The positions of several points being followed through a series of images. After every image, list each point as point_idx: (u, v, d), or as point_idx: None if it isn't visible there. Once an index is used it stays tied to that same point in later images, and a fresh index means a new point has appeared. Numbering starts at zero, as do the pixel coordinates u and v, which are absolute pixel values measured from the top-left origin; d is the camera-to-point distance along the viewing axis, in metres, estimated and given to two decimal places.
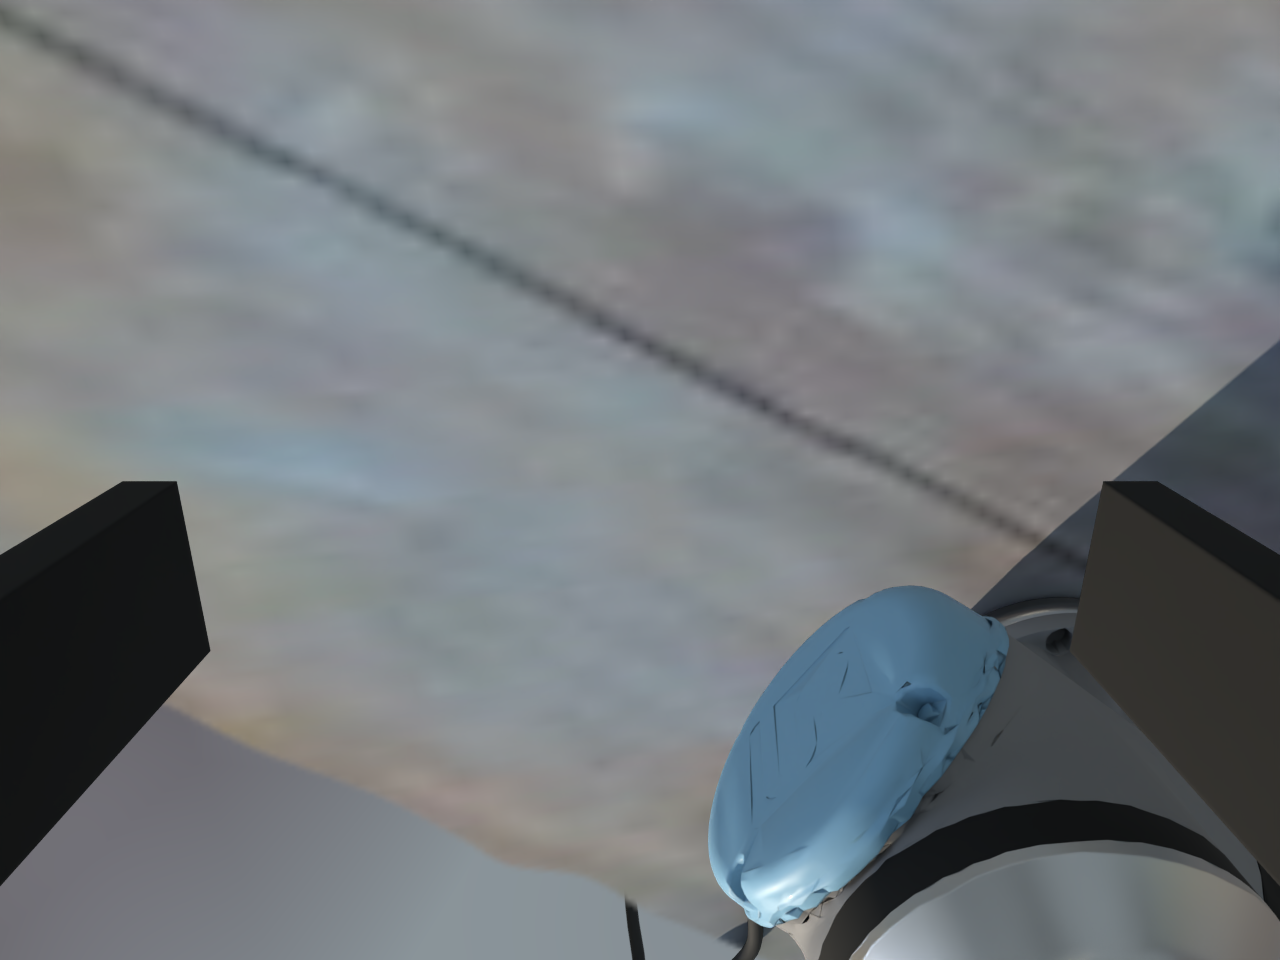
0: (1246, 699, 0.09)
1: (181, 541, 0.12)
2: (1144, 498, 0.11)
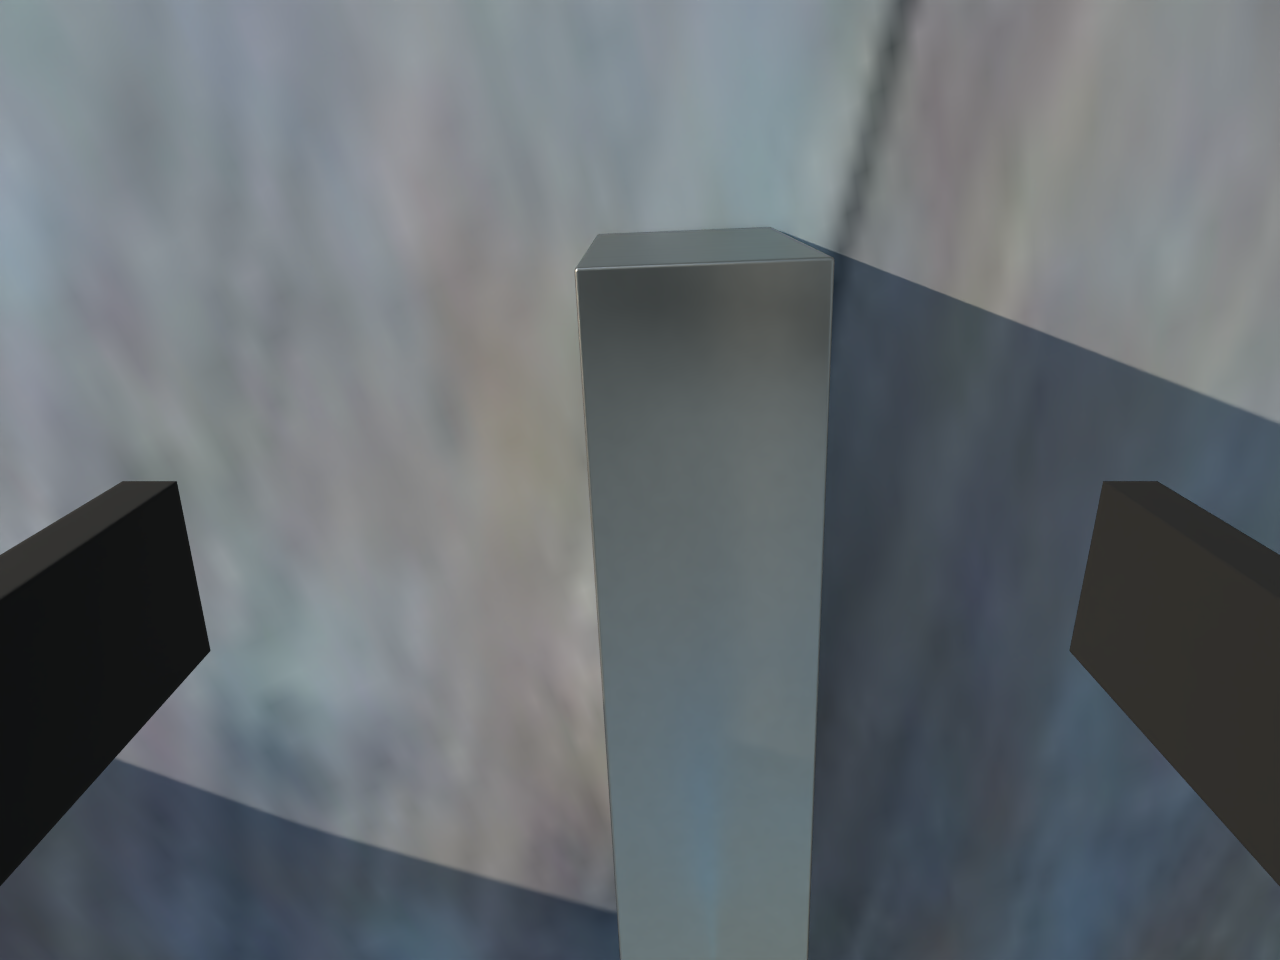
0: (1246, 699, 0.09)
1: (181, 541, 0.12)
2: (1144, 498, 0.11)
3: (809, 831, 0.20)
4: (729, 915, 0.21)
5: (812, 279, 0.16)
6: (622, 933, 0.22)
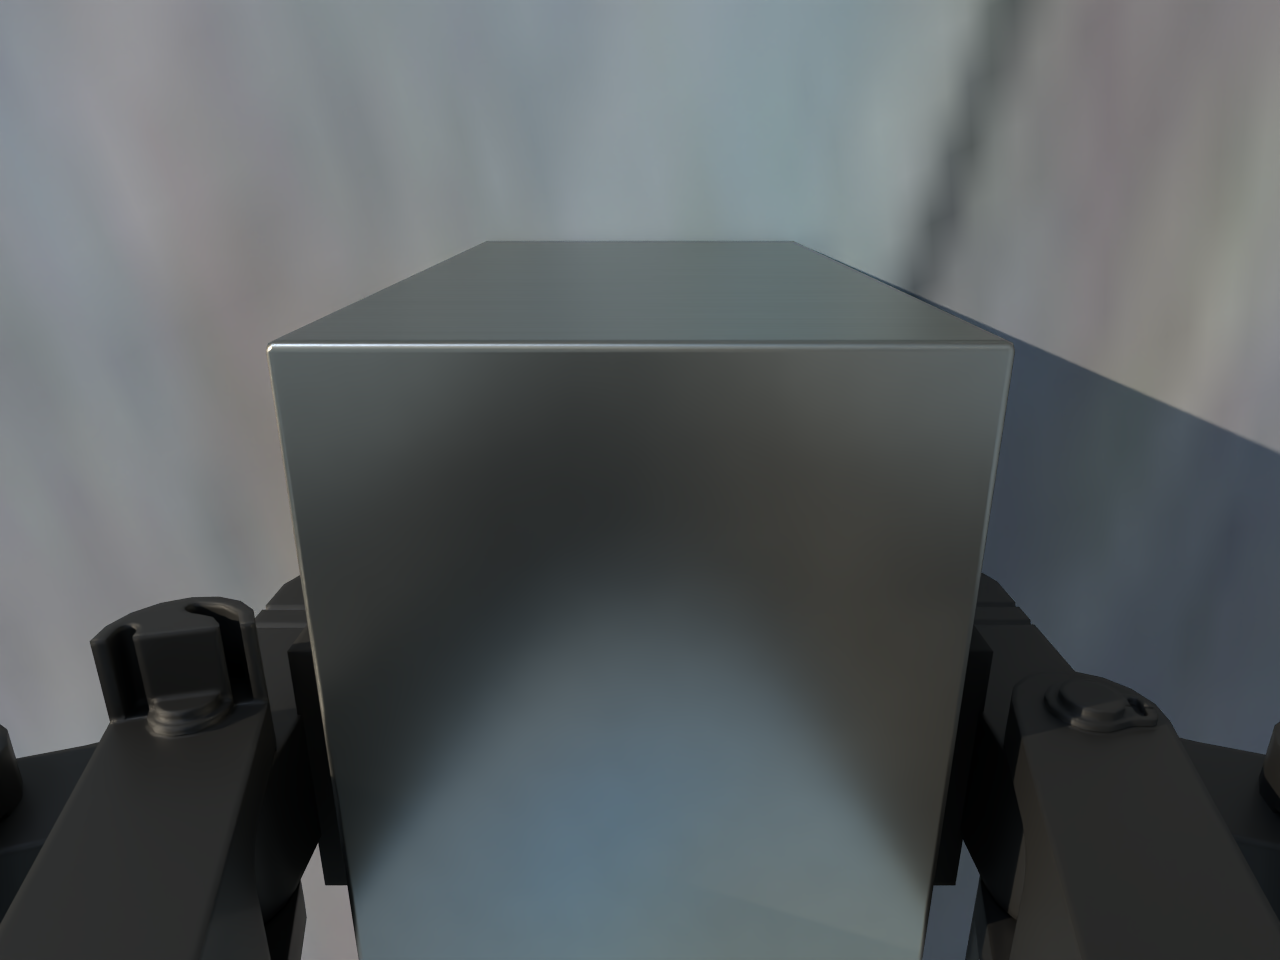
0: None
1: None
2: None
3: None
4: None
5: (948, 403, 0.06)
6: None
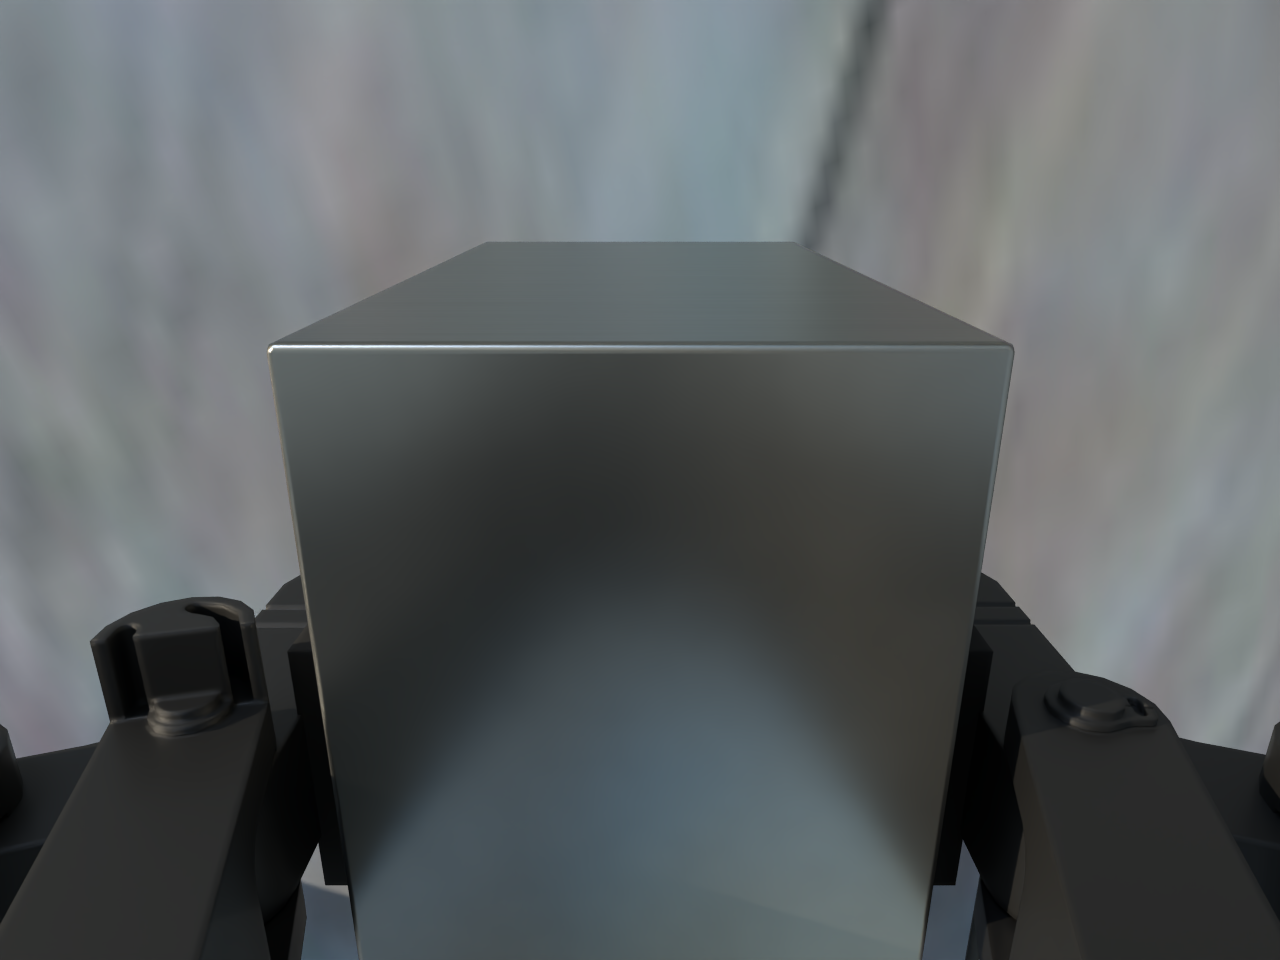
0: None
1: None
2: None
3: None
4: None
5: (948, 403, 0.06)
6: None
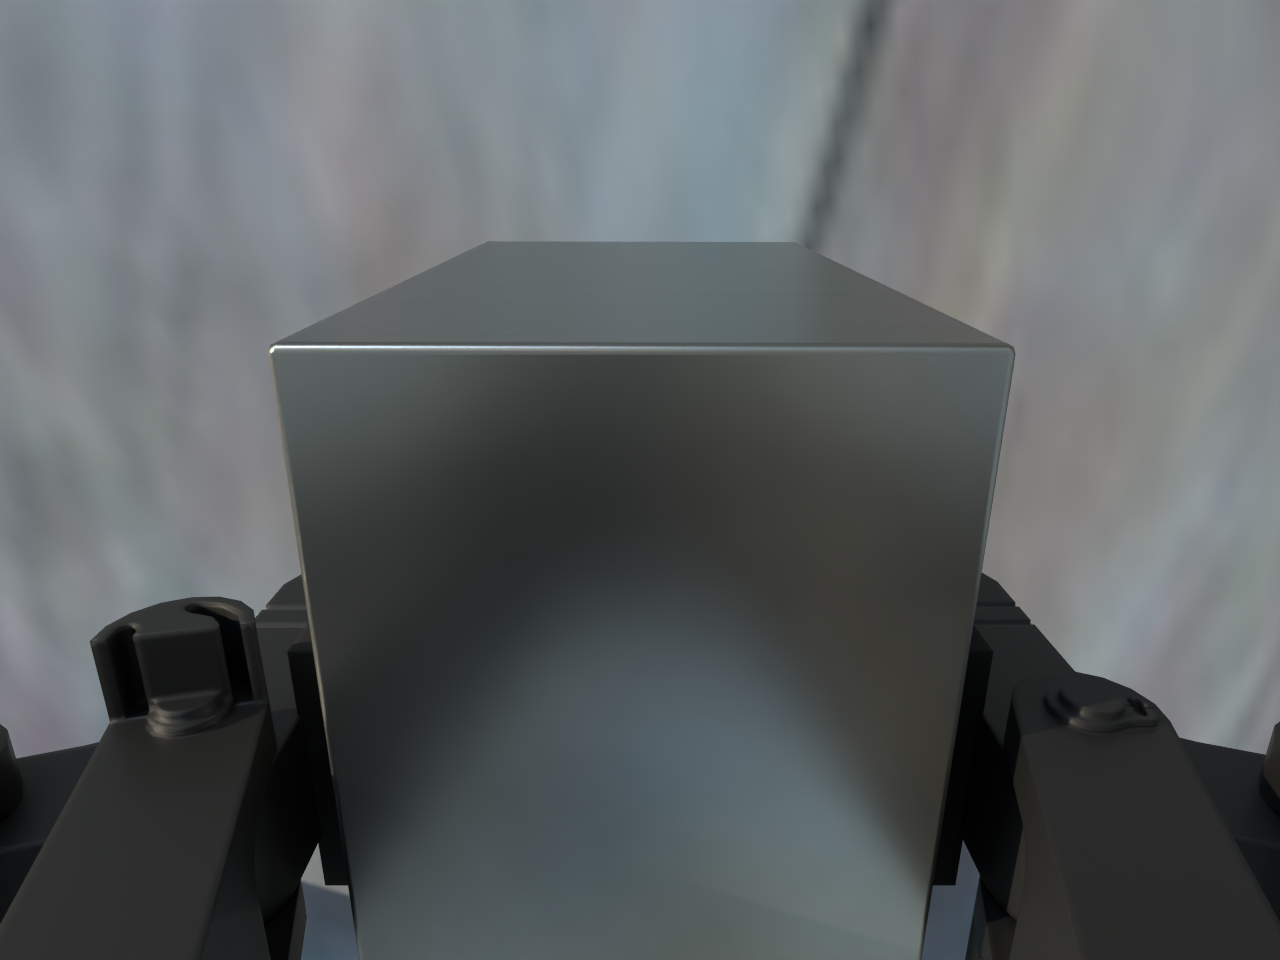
0: None
1: None
2: None
3: None
4: None
5: (949, 406, 0.06)
6: None
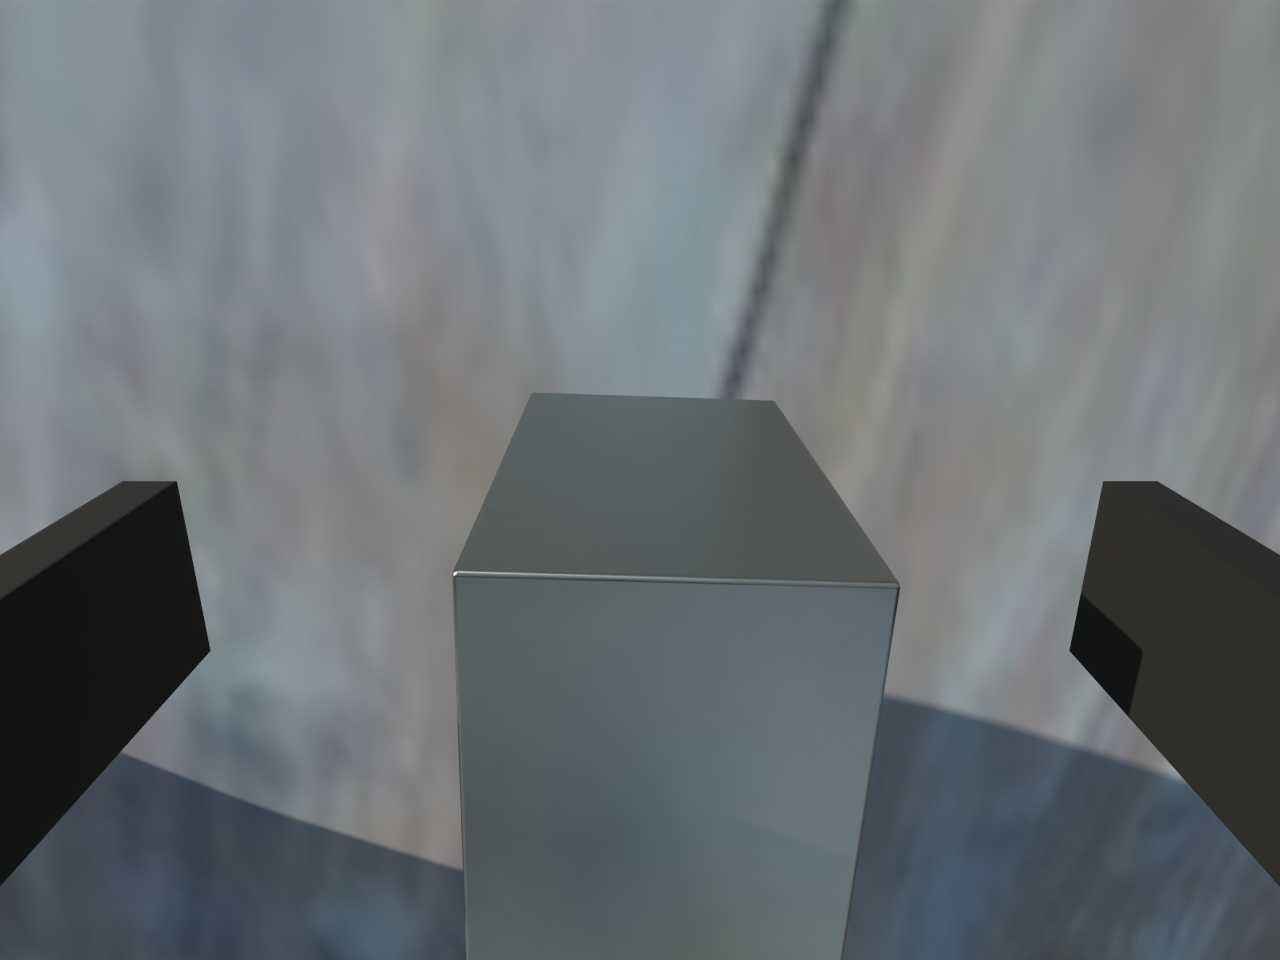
0: (1246, 699, 0.09)
1: (181, 541, 0.12)
2: (1143, 498, 0.11)
3: None
4: None
5: (860, 617, 0.09)
6: None
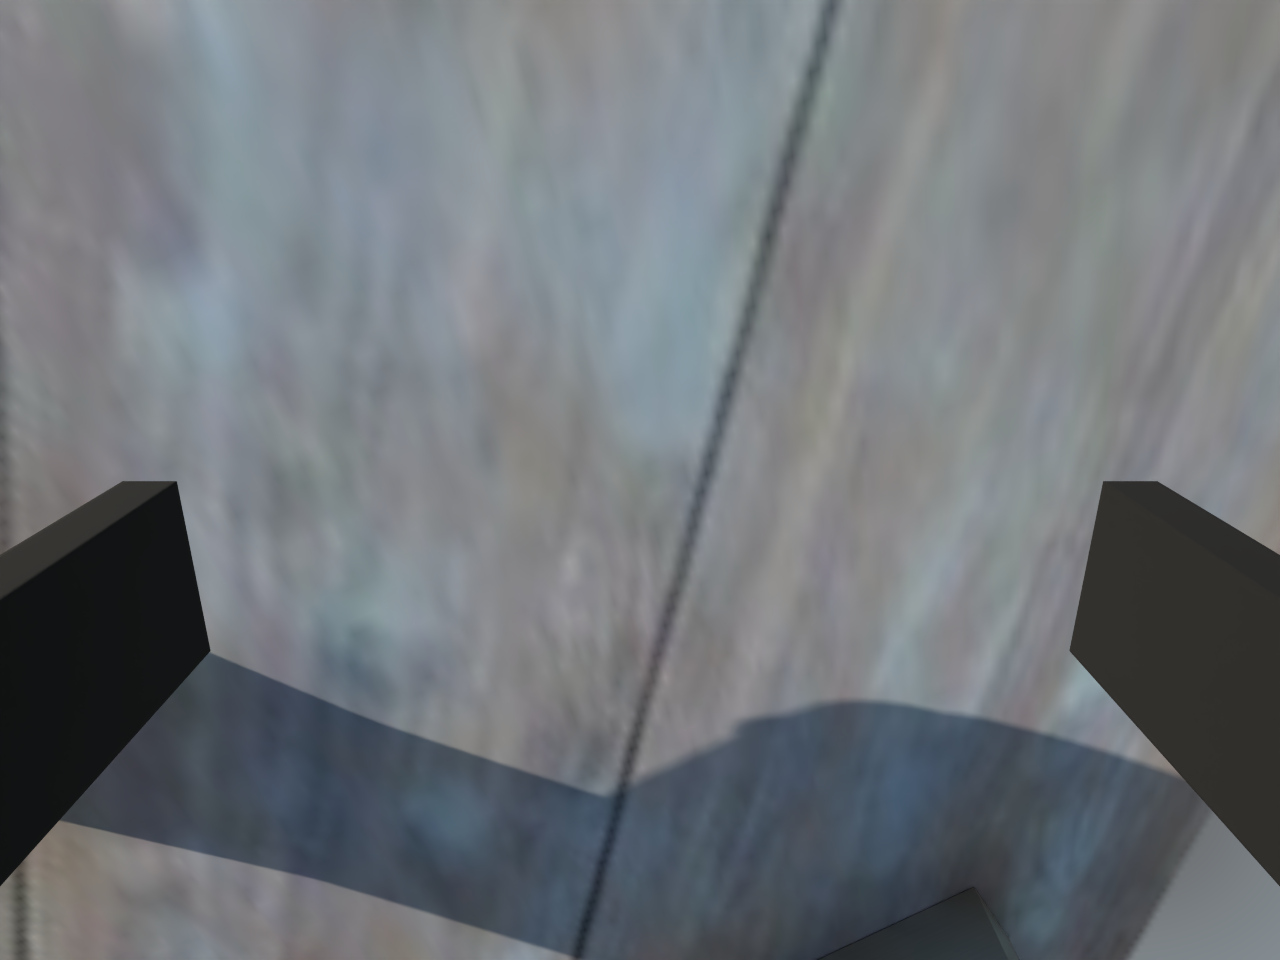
0: (1246, 699, 0.09)
1: (181, 541, 0.12)
2: (1144, 498, 0.11)
3: None
4: None
5: None
6: None
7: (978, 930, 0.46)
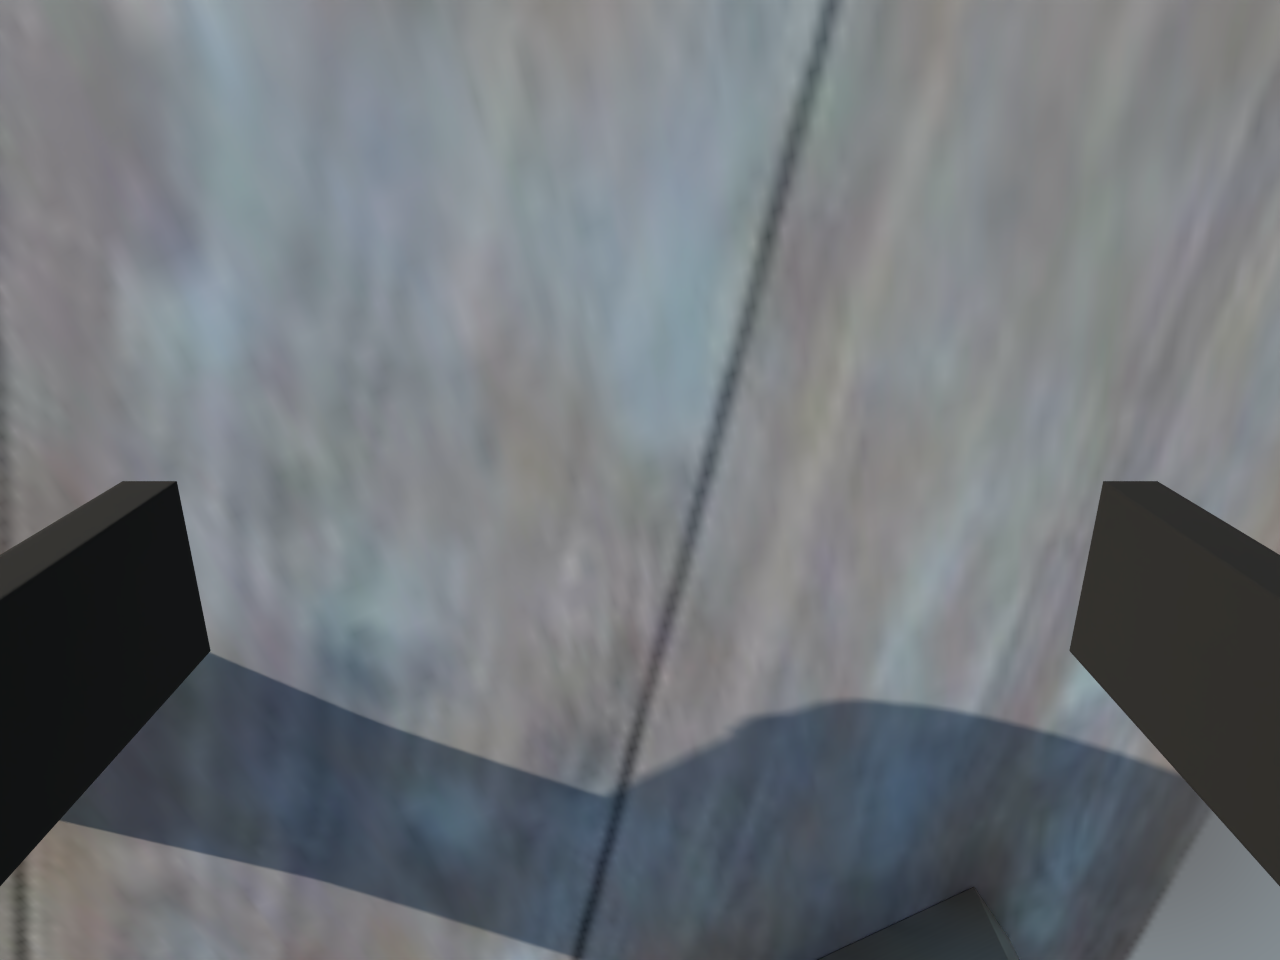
0: (1246, 699, 0.09)
1: (181, 541, 0.12)
2: (1144, 498, 0.11)
3: None
4: None
5: None
6: None
7: (978, 930, 0.46)
